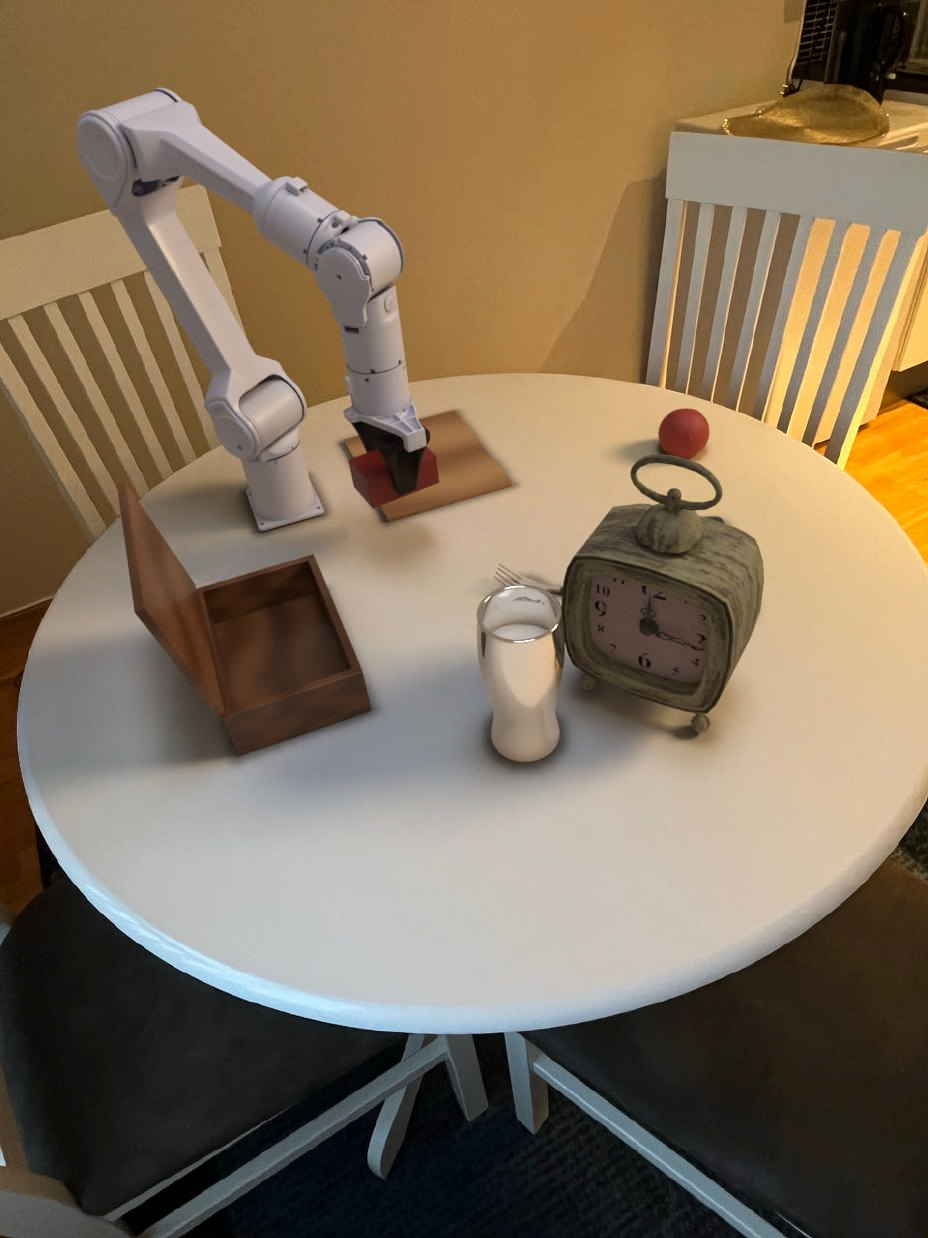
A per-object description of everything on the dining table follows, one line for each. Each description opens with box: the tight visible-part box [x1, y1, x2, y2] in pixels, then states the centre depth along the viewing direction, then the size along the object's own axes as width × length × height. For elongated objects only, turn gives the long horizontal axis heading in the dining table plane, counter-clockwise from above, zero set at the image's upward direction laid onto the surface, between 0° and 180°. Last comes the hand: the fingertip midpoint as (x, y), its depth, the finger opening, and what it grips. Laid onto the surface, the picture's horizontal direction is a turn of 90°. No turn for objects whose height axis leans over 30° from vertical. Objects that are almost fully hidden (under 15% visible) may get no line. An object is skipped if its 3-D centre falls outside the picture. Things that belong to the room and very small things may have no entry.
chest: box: [196, 553, 373, 757], centre depth 81 cm, size 13×19×5 cm
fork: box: [493, 563, 563, 593], centre depth 86 cm, size 3×16×2 cm, turn 73°
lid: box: [116, 481, 225, 717], centre depth 73 cm, size 13×19×1 cm
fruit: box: [657, 408, 710, 459], centre depth 102 cm, size 6×6×8 cm
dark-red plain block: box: [347, 446, 439, 509], centre depth 89 cm, size 5×8×4 cm, turn 120°
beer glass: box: [476, 583, 566, 763], centre depth 69 cm, size 7×7×15 cm
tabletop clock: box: [560, 453, 765, 734], centre depth 68 cm, size 14×9×25 cm, turn 58°
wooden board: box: [343, 409, 513, 523], centre depth 107 cm, size 20×16×1 cm
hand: (394, 478), depth 89 cm, fingers closed on dark-red plain block, 5 cm apart
